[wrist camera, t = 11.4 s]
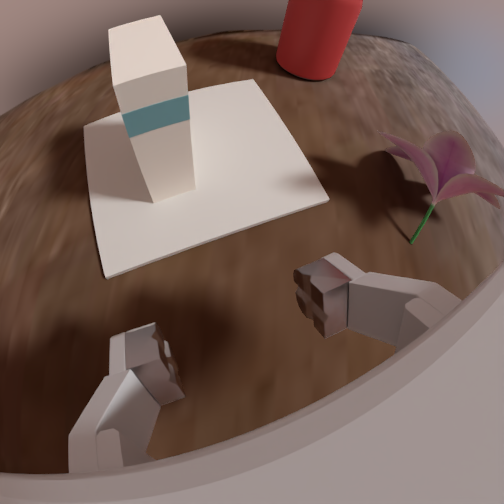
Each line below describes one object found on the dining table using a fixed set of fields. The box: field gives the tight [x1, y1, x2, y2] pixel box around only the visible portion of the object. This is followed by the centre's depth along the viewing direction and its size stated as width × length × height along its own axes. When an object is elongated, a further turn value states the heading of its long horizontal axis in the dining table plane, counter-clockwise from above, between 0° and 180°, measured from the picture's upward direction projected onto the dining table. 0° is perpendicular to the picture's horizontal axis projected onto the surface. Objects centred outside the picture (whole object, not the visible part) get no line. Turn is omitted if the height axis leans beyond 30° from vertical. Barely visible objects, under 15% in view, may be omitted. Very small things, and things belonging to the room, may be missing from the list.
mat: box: [84, 79, 329, 279], centre depth 20 cm, size 16×14×1 cm
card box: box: [109, 15, 196, 203], centre depth 14 cm, size 3×6×10 cm, turn 23°
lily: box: [377, 130, 504, 244], centre depth 18 cm, size 12×12×10 cm
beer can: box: [276, 0, 363, 80], centre depth 20 cm, size 7×7×12 cm
